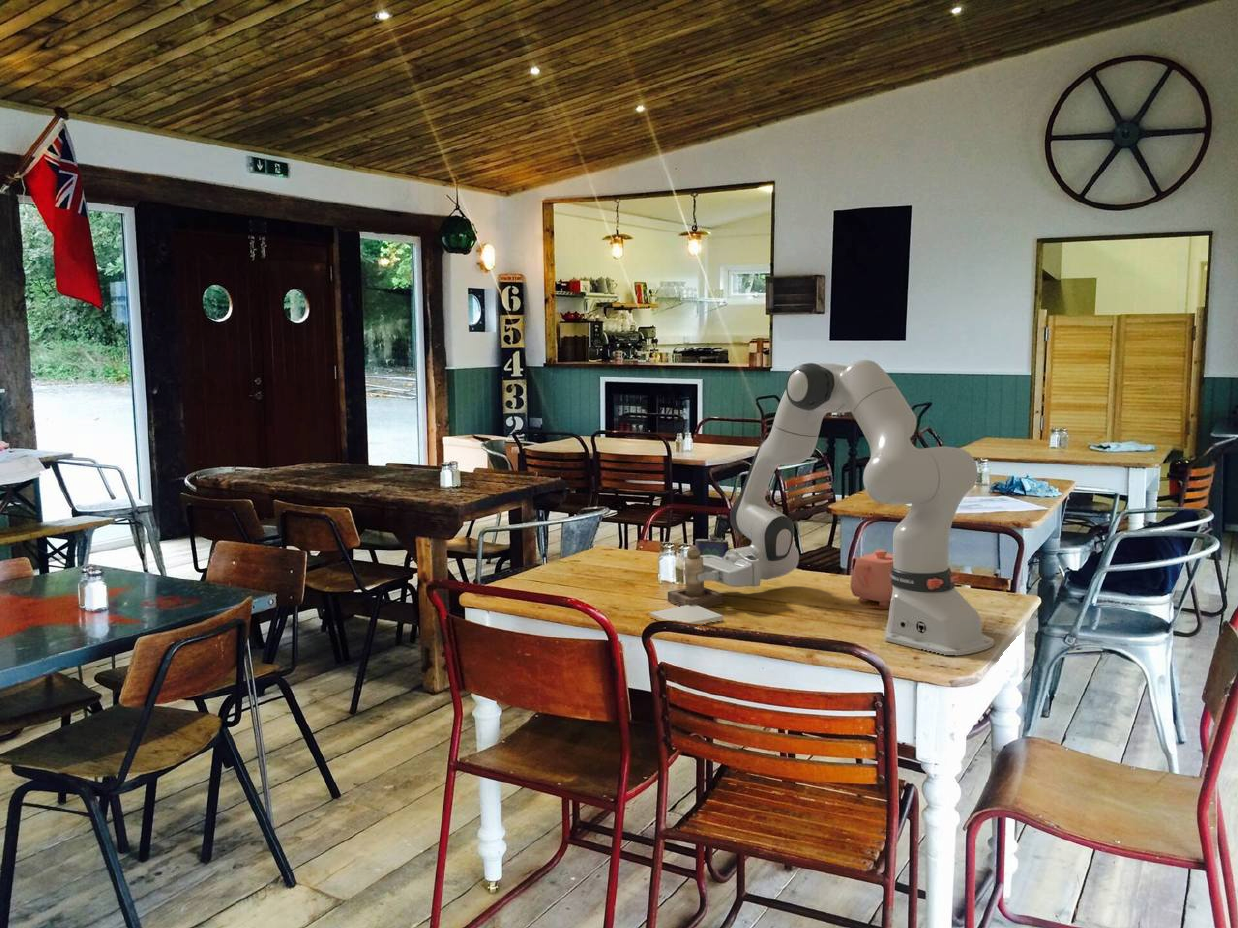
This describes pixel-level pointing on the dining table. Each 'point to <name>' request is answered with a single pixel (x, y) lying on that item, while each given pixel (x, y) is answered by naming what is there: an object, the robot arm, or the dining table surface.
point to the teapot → (873, 578)
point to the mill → (693, 573)
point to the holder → (695, 598)
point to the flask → (712, 546)
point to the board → (688, 614)
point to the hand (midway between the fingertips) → (691, 574)
